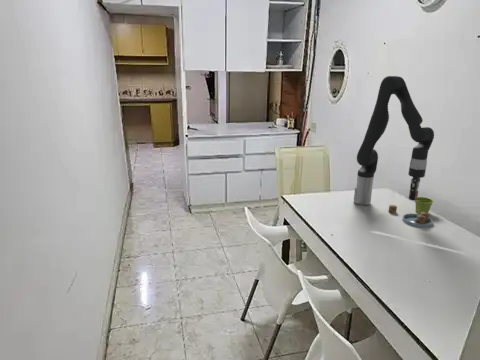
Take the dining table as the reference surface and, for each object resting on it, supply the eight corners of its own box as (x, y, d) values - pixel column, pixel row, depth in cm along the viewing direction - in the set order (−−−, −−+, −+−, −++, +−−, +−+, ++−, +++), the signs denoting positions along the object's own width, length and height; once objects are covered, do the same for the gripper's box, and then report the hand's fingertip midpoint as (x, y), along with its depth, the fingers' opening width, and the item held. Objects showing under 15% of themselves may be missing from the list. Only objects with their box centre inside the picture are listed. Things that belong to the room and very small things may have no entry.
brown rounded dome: (407, 199, 179) (409, 191, 177) (409, 197, 182) (410, 189, 181) (416, 201, 177) (417, 192, 175) (417, 198, 180) (418, 190, 178)
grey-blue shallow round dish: (399, 224, 179) (400, 220, 179) (404, 215, 191) (405, 211, 190) (430, 231, 172) (431, 226, 171) (433, 221, 183) (434, 217, 182)
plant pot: (434, 217, 188) (437, 203, 186) (416, 217, 188) (419, 202, 186) (425, 211, 197) (428, 196, 194) (409, 211, 197) (411, 196, 195)
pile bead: (387, 214, 193) (388, 206, 192) (389, 211, 196) (390, 204, 195) (395, 215, 191) (396, 208, 190) (396, 213, 194) (397, 205, 193)
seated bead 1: (415, 225, 177) (416, 216, 176) (416, 222, 180) (417, 214, 179) (423, 226, 175) (425, 218, 173) (424, 224, 178) (426, 216, 177)
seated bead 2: (418, 221, 181) (420, 213, 180) (420, 219, 184) (421, 211, 183) (427, 223, 179) (428, 215, 177) (428, 220, 182) (429, 212, 181)
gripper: (411, 163, 182) (407, 193, 187) (407, 169, 171) (402, 201, 176) (427, 165, 178) (422, 196, 183) (424, 171, 167) (418, 204, 172)
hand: (412, 198), depth 179 cm, fingers closed on brown rounded dome, 4 cm apart
